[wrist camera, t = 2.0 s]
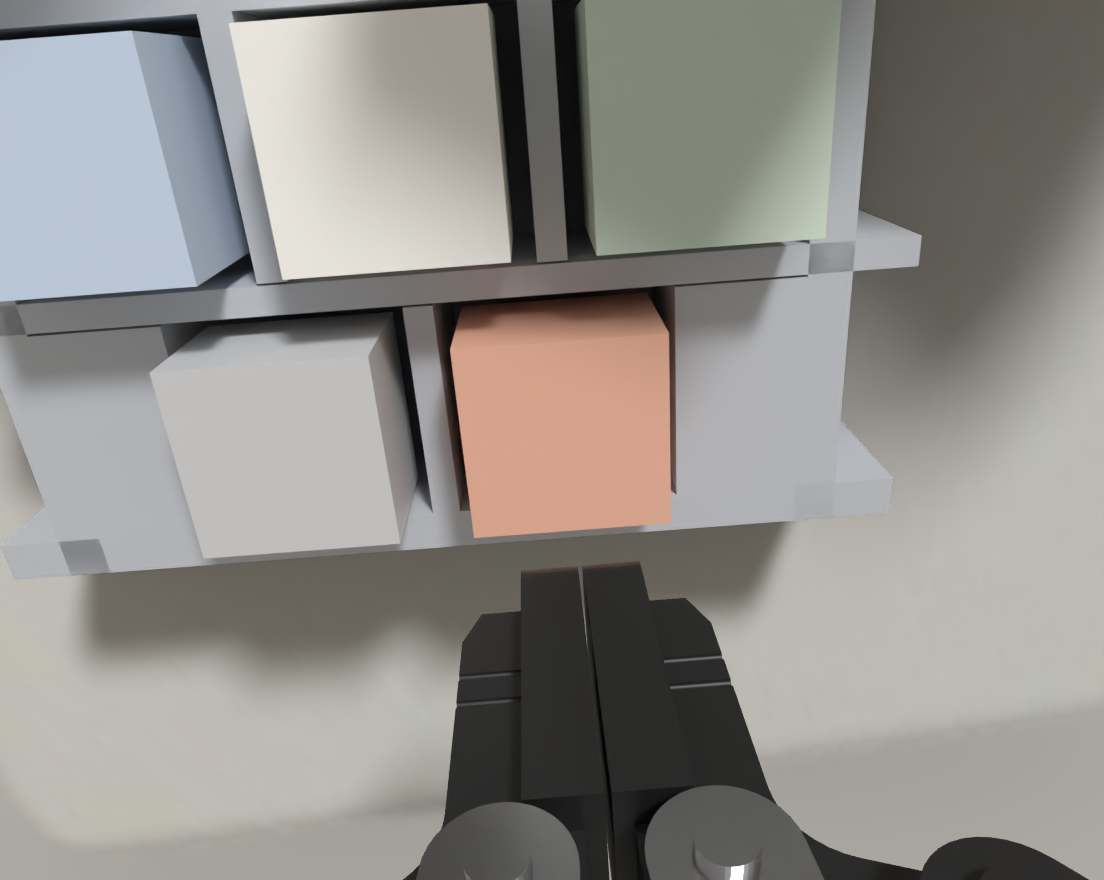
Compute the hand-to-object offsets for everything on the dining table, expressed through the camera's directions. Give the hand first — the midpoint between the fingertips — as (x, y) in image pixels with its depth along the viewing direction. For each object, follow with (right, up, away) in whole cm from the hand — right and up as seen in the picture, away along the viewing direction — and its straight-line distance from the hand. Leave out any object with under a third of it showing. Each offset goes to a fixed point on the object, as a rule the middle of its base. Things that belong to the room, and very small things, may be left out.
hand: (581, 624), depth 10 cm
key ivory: (-3, +8, +6) cm, 11 cm away
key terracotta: (0, +4, +8) cm, 9 cm away
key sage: (+2, +9, +6) cm, 11 cm away
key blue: (-9, +8, +6) cm, 13 cm away
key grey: (-6, +3, +8) cm, 10 cm away
